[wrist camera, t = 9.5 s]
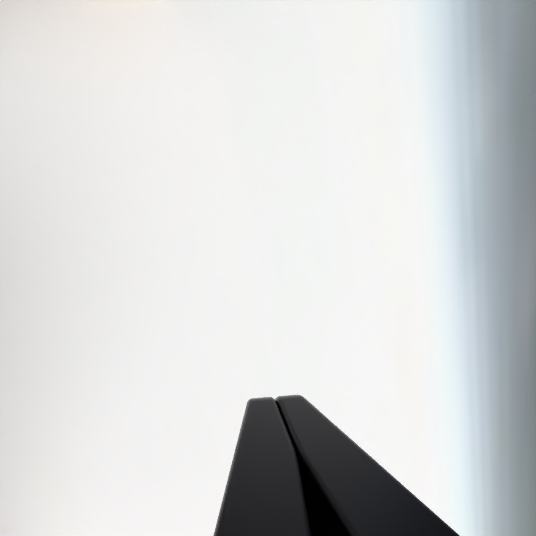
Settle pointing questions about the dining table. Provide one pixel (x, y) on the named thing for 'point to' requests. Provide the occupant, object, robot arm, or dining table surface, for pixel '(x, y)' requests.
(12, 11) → the dining table surface
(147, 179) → the dining table surface
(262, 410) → the robot arm
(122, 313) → the dining table surface
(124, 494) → the dining table surface
